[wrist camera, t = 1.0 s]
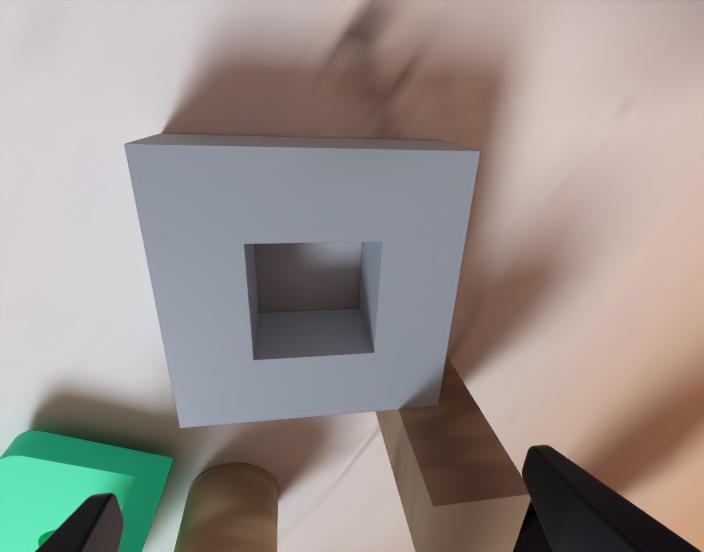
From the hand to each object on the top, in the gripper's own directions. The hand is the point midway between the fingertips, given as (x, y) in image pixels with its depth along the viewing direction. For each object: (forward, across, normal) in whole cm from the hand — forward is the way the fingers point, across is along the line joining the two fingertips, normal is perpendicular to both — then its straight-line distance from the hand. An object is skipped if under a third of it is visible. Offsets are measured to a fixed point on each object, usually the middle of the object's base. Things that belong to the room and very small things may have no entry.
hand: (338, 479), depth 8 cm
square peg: (+12, -6, +8) cm, 16 cm away
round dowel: (+12, +5, +16) cm, 21 cm away
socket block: (+12, 0, 0) cm, 12 cm away
